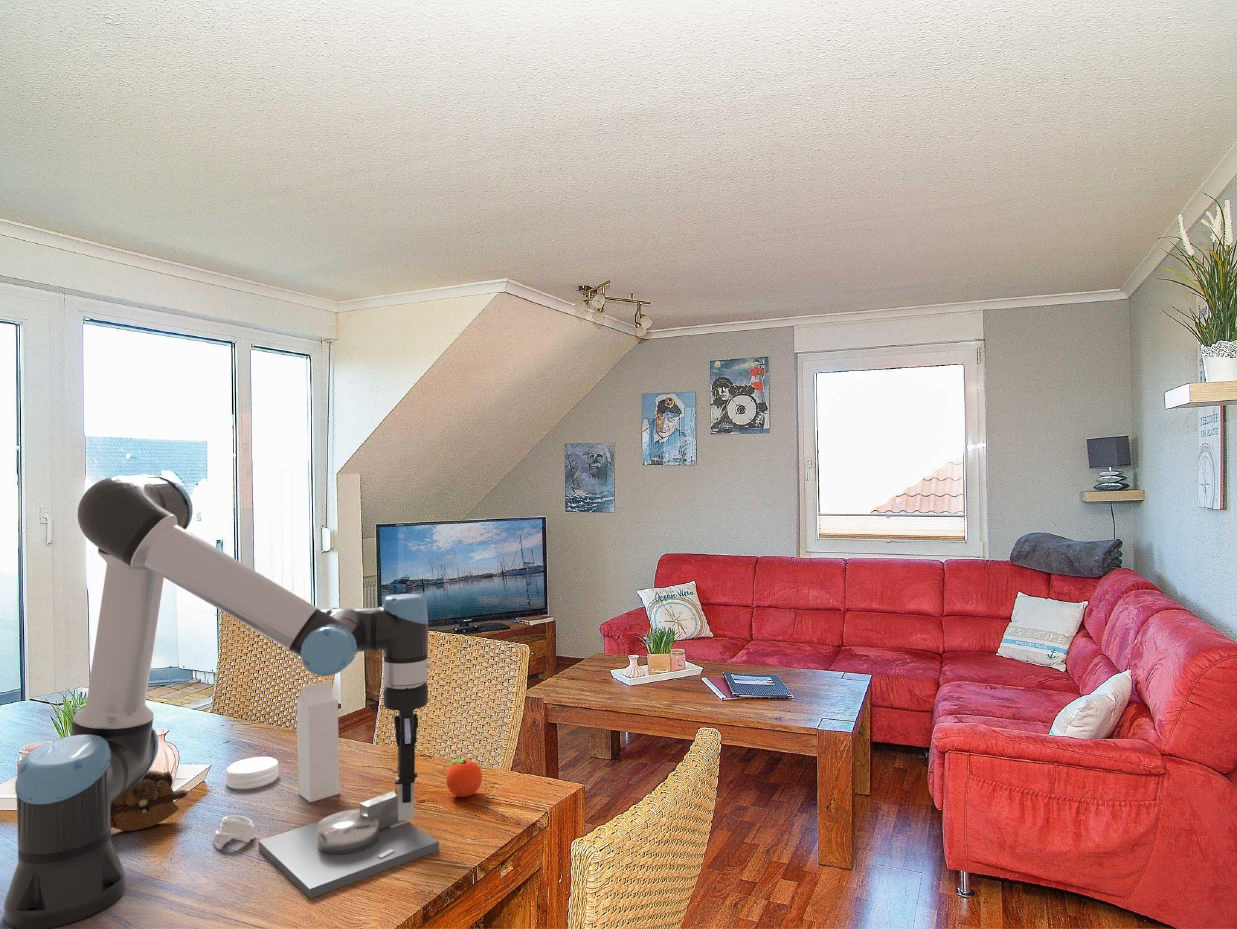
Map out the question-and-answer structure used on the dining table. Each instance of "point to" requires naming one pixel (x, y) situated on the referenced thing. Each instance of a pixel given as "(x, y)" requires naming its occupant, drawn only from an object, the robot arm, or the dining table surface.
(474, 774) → the clementine
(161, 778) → the wooden carving
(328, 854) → the plate
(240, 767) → the round white tin
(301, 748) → the milk
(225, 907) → the dining table surface
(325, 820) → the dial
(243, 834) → the whipped cream
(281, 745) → the dining table surface
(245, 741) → the dining table surface
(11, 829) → the dining table surface
